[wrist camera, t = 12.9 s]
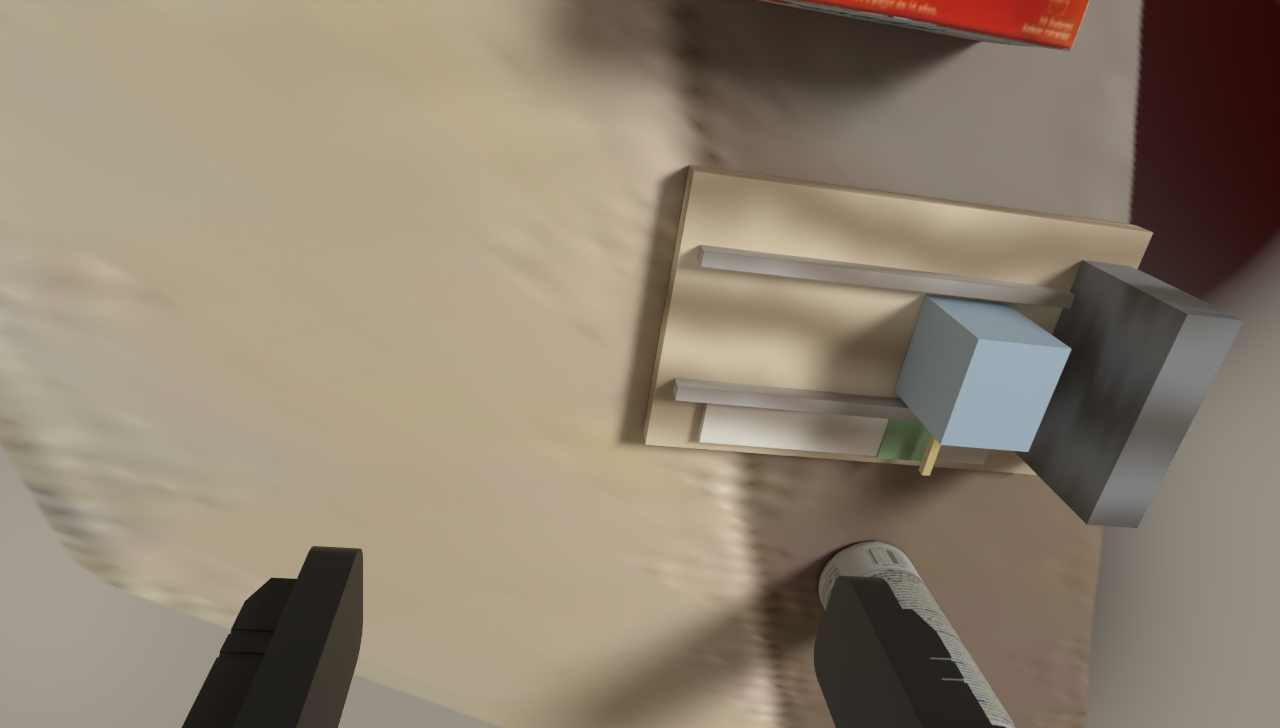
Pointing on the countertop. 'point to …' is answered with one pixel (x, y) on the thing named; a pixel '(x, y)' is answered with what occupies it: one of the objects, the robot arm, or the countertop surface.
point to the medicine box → (967, 18)
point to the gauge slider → (978, 375)
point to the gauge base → (885, 322)
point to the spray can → (916, 596)
